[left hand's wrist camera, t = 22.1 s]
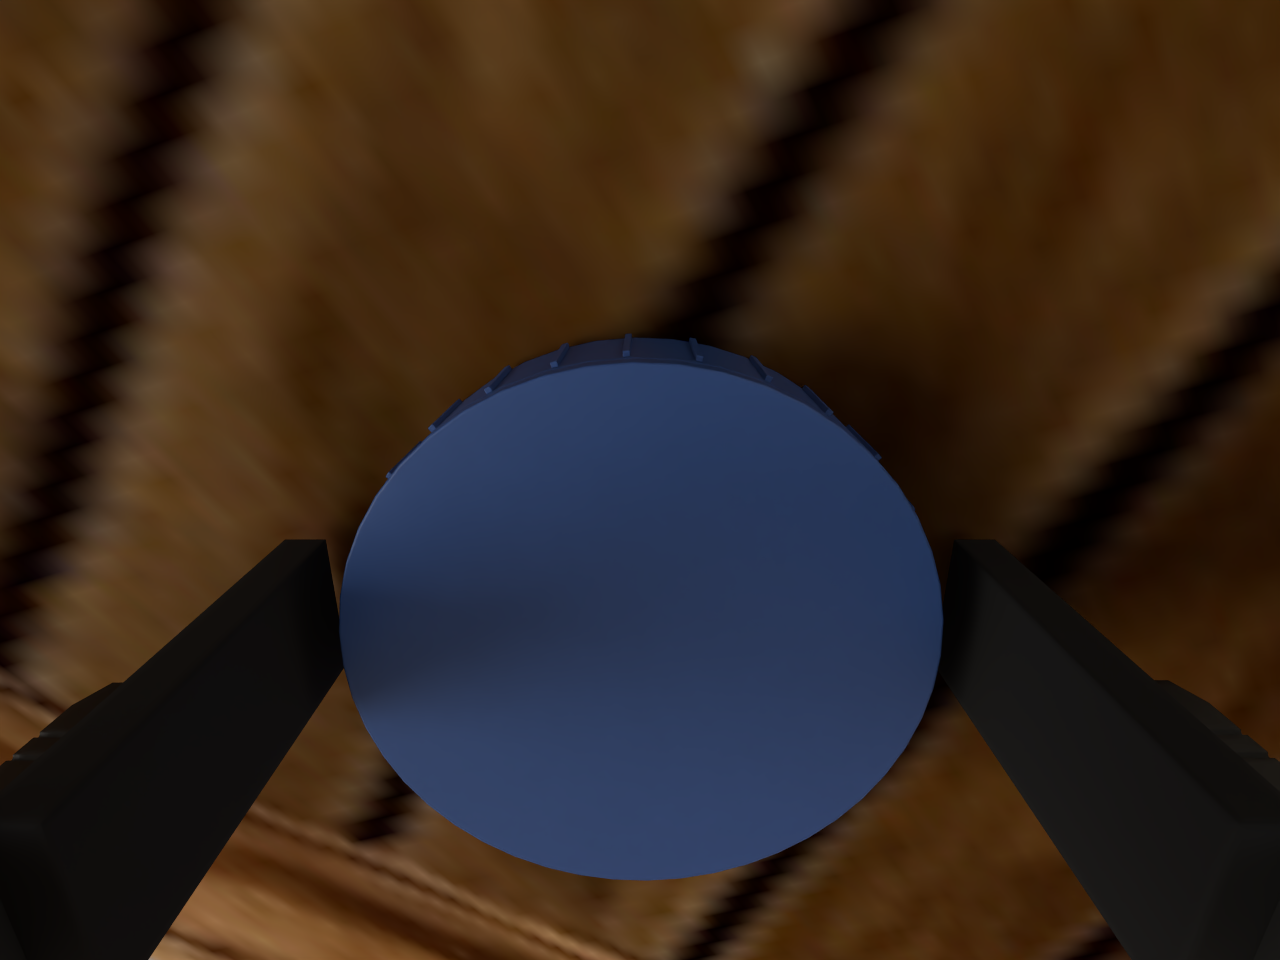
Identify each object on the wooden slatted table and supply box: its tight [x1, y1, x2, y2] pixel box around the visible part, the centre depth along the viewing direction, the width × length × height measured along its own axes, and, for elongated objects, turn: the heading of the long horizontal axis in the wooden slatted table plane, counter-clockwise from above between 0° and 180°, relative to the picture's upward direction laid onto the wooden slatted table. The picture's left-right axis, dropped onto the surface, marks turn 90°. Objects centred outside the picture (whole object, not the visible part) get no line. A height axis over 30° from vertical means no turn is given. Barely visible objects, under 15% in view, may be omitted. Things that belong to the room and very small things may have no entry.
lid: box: [339, 334, 943, 880], centre depth 13 cm, size 10×10×2 cm
